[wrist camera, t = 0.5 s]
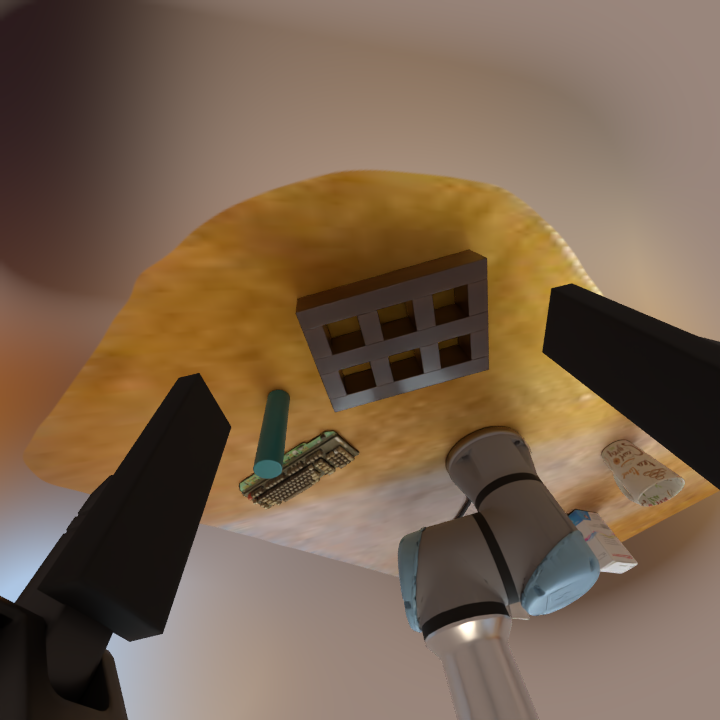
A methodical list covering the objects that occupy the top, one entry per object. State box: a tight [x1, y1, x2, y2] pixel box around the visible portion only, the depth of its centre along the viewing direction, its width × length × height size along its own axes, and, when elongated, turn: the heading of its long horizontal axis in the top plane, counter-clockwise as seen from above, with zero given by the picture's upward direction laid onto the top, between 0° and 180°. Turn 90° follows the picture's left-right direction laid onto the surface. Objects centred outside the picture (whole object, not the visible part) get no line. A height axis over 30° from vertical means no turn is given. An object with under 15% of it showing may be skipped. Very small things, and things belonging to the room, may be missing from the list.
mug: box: [601, 440, 685, 506], centre depth 60 cm, size 8×13×10 cm, turn 15°
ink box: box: [568, 510, 637, 573], centre depth 72 cm, size 9×5×12 cm, turn 67°
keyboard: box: [239, 431, 359, 509], centre depth 53 cm, size 22×9×2 cm, turn 126°
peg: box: [253, 390, 290, 479], centre depth 40 cm, size 3×3×13 cm
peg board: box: [296, 250, 489, 412], centre depth 40 cm, size 16×22×4 cm
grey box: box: [505, 602, 530, 620], centre depth 85 cm, size 4×7×10 cm, turn 61°
